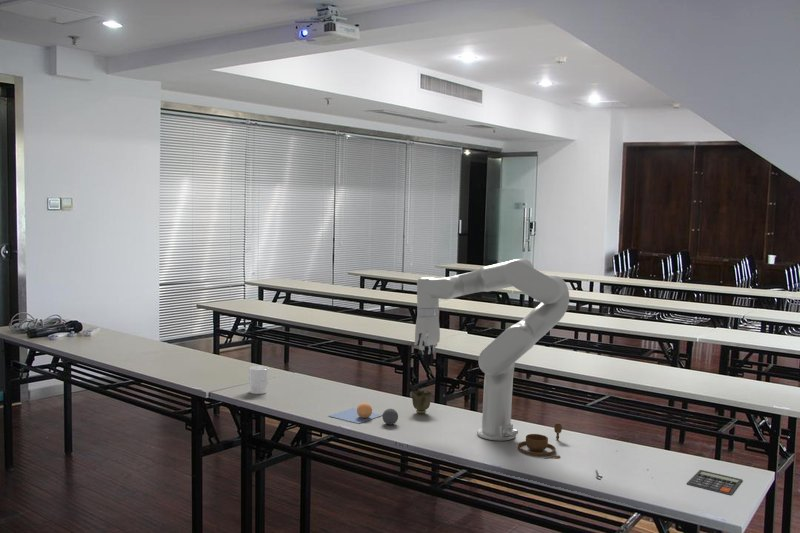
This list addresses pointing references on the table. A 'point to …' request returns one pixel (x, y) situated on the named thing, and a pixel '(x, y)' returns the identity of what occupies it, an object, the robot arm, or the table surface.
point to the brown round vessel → (421, 401)
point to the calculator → (714, 482)
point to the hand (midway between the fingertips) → (428, 364)
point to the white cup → (258, 379)
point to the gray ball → (390, 416)
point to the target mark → (353, 416)
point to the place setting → (540, 444)
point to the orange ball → (364, 410)
